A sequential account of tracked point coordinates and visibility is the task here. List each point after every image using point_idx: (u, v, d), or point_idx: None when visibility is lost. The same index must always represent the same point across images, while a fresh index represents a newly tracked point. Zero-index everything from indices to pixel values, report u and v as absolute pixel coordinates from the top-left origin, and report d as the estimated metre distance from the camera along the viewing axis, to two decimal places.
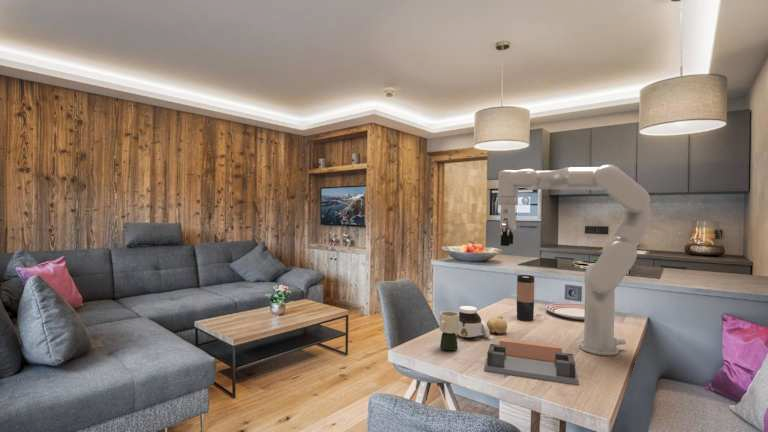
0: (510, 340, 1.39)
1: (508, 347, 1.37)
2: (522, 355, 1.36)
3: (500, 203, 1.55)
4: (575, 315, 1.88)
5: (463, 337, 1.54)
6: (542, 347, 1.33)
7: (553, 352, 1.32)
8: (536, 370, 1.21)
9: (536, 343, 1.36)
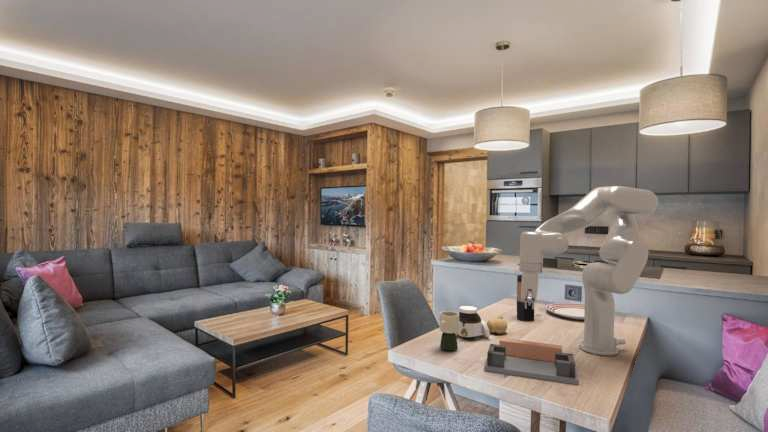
0: (510, 340, 1.39)
1: (508, 347, 1.38)
2: (522, 355, 1.36)
3: None
4: (575, 315, 1.88)
5: (463, 337, 1.54)
6: (542, 347, 1.33)
7: (553, 352, 1.32)
8: (536, 370, 1.21)
9: (536, 343, 1.36)
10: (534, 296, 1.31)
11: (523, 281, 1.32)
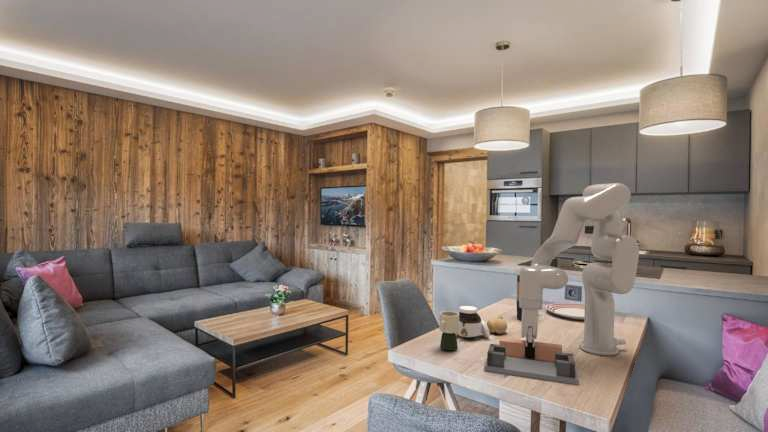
0: (510, 340, 1.39)
1: (508, 347, 1.37)
2: (522, 355, 1.36)
3: None
4: (575, 315, 1.88)
5: (463, 337, 1.54)
6: (542, 346, 1.33)
7: (553, 352, 1.32)
8: (536, 370, 1.21)
9: (536, 343, 1.36)
10: (534, 337, 1.32)
11: (523, 318, 1.33)
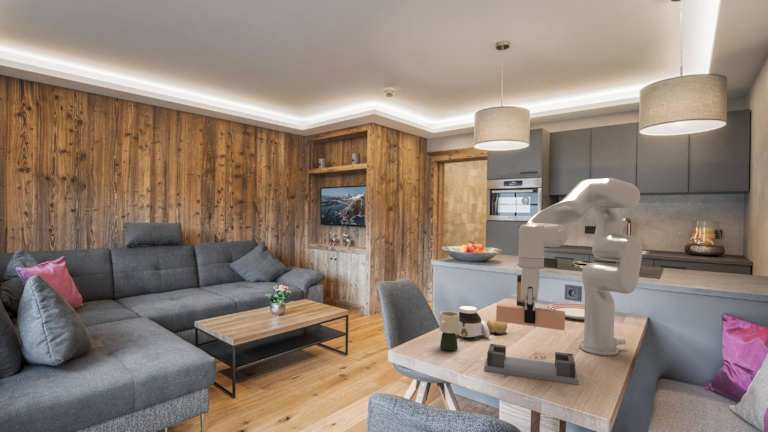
0: (508, 305, 1.27)
1: (505, 313, 1.26)
2: (521, 321, 1.24)
3: None
4: (575, 315, 1.88)
5: (463, 337, 1.54)
6: (543, 312, 1.22)
7: (555, 318, 1.20)
8: (536, 370, 1.21)
9: (537, 309, 1.24)
10: (535, 299, 1.20)
11: (523, 278, 1.21)
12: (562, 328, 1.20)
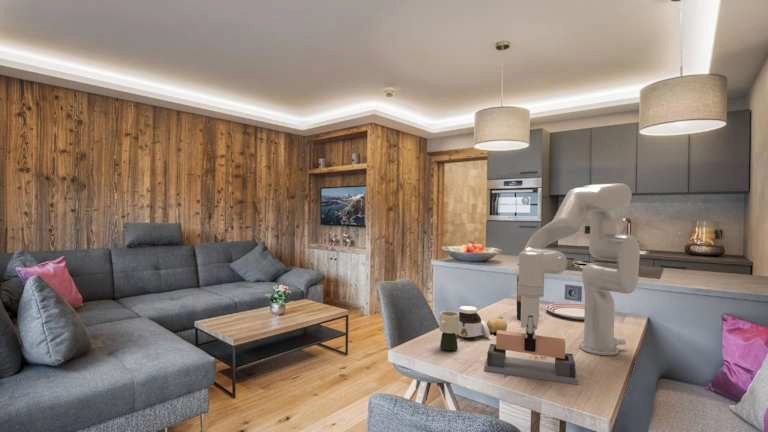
0: (508, 332, 1.26)
1: (505, 341, 1.25)
2: (521, 349, 1.23)
3: None
4: (575, 315, 1.88)
5: (463, 337, 1.54)
6: (543, 340, 1.21)
7: (555, 346, 1.20)
8: (536, 370, 1.21)
9: (537, 336, 1.24)
10: (535, 327, 1.19)
11: (523, 306, 1.20)
12: (562, 357, 1.19)
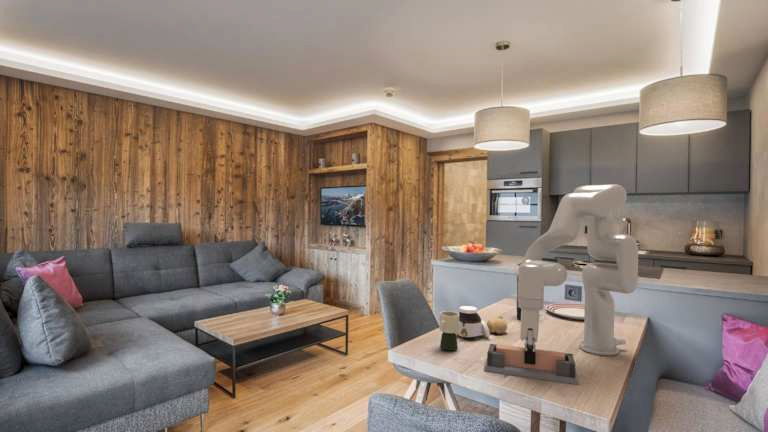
0: (508, 347, 1.26)
1: (505, 355, 1.25)
2: (521, 364, 1.23)
3: None
4: (575, 315, 1.88)
5: (463, 337, 1.54)
6: (543, 355, 1.21)
7: (555, 360, 1.20)
8: (536, 370, 1.21)
9: (536, 350, 1.24)
10: (535, 339, 1.19)
11: (522, 319, 1.20)
12: None
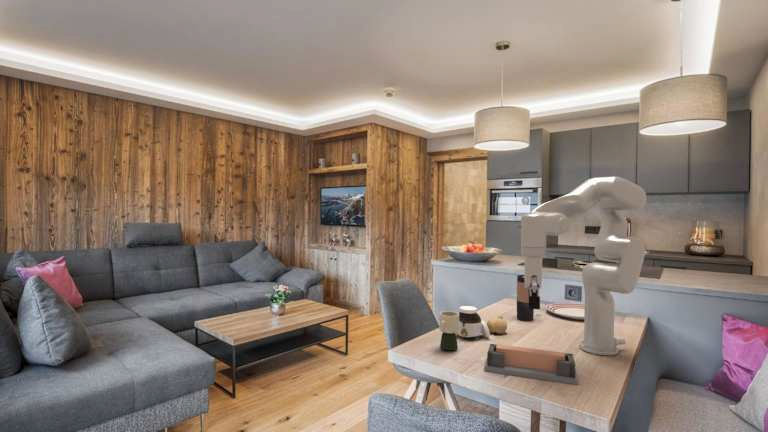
0: (508, 347, 1.26)
1: (505, 355, 1.25)
2: (521, 364, 1.23)
3: None
4: (575, 315, 1.88)
5: (463, 337, 1.54)
6: (543, 355, 1.21)
7: (555, 360, 1.20)
8: (536, 370, 1.21)
9: (536, 350, 1.24)
10: (539, 282, 1.22)
11: (526, 267, 1.24)
12: None
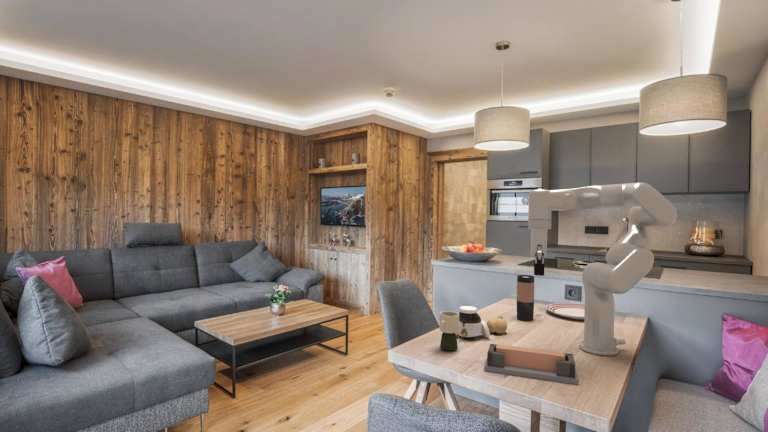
0: (508, 347, 1.26)
1: (505, 355, 1.25)
2: (521, 364, 1.23)
3: None
4: (575, 315, 1.88)
5: (463, 337, 1.54)
6: (543, 355, 1.21)
7: (555, 360, 1.20)
8: (536, 370, 1.21)
9: (536, 350, 1.24)
10: (544, 251, 1.34)
11: (532, 237, 1.36)
12: None
